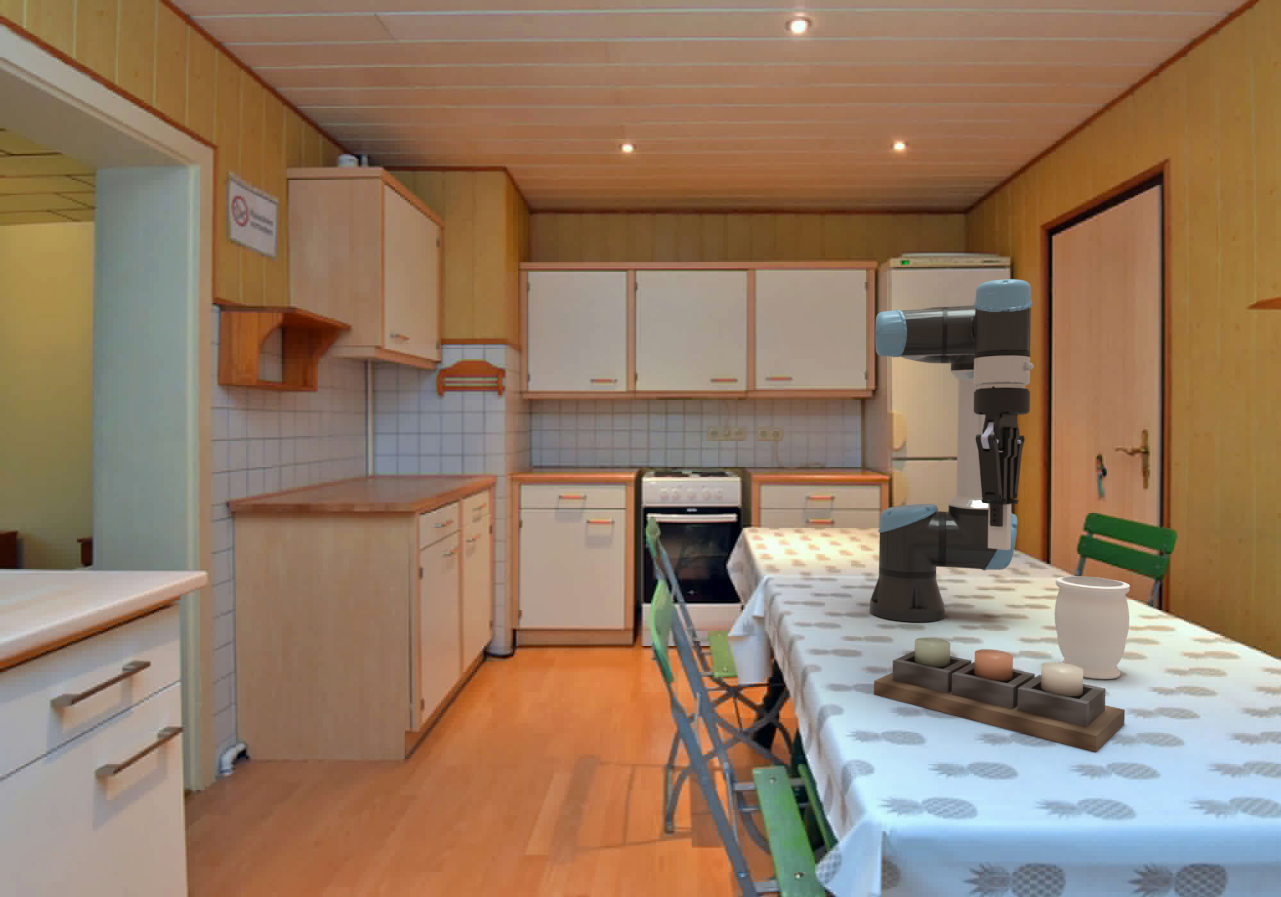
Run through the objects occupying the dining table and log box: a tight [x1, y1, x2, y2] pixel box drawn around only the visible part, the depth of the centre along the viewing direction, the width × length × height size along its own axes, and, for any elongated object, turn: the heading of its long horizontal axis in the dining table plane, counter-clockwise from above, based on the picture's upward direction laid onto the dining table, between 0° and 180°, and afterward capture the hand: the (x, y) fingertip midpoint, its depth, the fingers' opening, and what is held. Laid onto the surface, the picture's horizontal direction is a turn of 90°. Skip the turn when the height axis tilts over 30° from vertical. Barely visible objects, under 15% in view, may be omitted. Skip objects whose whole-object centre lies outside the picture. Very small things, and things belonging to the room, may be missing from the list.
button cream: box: [1040, 661, 1084, 696], centre depth 108 cm, size 5×5×3 cm
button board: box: [873, 650, 1126, 753], centre depth 114 cm, size 30×13×5 cm, turn 46°
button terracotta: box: [974, 648, 1014, 681], centre depth 114 cm, size 5×5×3 cm
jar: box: [1054, 575, 1131, 680], centre depth 131 cm, size 11×10×15 cm
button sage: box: [914, 637, 951, 667], centre depth 121 cm, size 5×5×3 cm
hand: (999, 548), depth 118 cm, fingers closed
